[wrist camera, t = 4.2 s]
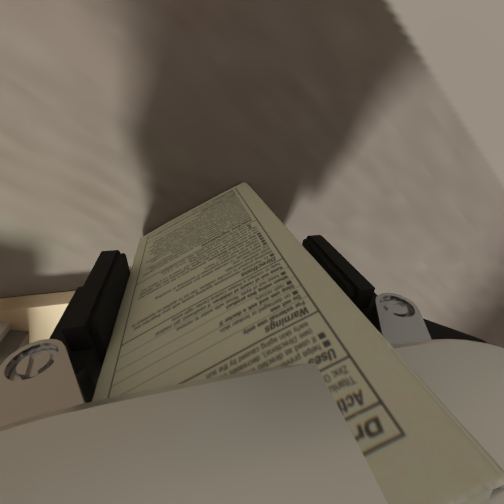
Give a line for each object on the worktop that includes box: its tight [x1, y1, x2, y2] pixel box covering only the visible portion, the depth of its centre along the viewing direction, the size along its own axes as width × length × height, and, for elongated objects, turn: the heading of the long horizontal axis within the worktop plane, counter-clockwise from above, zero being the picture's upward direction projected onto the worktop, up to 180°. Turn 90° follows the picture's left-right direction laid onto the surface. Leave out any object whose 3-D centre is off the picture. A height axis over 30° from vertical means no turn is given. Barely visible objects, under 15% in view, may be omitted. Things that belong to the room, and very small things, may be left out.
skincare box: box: [92, 183, 504, 504], centre depth 9 cm, size 6×4×12 cm
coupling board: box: [0, 291, 75, 365], centre depth 17 cm, size 14×25×4 cm, turn 177°
